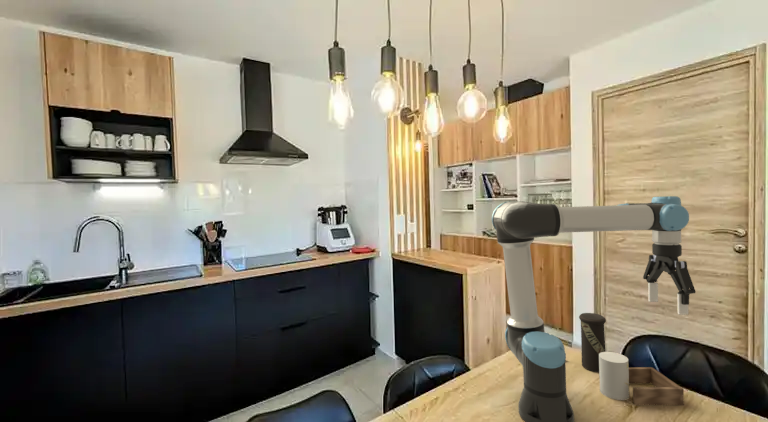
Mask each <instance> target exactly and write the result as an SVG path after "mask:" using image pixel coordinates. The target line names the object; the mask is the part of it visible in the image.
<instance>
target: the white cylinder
mask: <svg viewBox="0 0 768 422" xmlns="http://www.w3.org/2000/svg"><path fill="white" fill-rule="evenodd" d="M598 373H599V374H598V375H599V392H600V393H601V394H602V396H605V397H606V398H609V399H612V400H617V401H626V400H629V399H630V384H629V358H628V357H627V356H626V355H623V354H621V353H617V352H614V351H613V352H612V351H606V352H601V353H599V372H598Z"/></svg>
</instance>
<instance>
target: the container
mask: <svg viewBox="0 0 768 422" xmlns="http://www.w3.org/2000/svg"><path fill="white" fill-rule="evenodd" d="M578 318H579V321H580V338H581V339H580V341H581V345H580V346H581V366H582V367H583V368H584V369H585V370H587V371H591V372H593V373H594V372H596V373H599V353H601V352H607V350H606V335H605V332H606V331H605V323H606V321H607V319H606V317H605V316H604V315H602V314H598V313H594V312H583V313H580V314H579V316H578Z"/></svg>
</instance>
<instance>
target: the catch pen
mask: <svg viewBox="0 0 768 422" xmlns="http://www.w3.org/2000/svg"><path fill="white" fill-rule="evenodd" d="M630 384H651V385H653V386H648V387H647V386H645V387H643V386H640V387H639V386H636V387H635V386H633V387H632V393H633V394H632V397H633V398H632V401H633V404H634V405H635V406H684V405H685V400H684V399H685V397H684V396H685V395H684V391H685V389H684V388H683V387H682V386H680V385H679V384H677V383H676V382H674V381H673V380H671V379H670V378H668V377H667V376H665V375H664V374H663V373H662V372H660V371H658V370H657V369H655V368H654V367H651V366H648V367H647V366H645V367H644V366H641V367H638V366H637V367H629V385H630Z"/></svg>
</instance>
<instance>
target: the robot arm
mask: <svg viewBox="0 0 768 422" xmlns="http://www.w3.org/2000/svg"><path fill="white" fill-rule="evenodd" d="M689 221H690V213H689V211H688V210H687V209H686V208H685V207H684V206H682V201H681V198H680V197H679V196H676V195H674V196H673V195H672V196H669V195H668V196H666V195H665V196H653V197H652V198H651V202H644V203H643V202H641V203H639V202H637V203H635V202H634V203H629V202H627V203H619V204H617V205H591V206H590V205H587V206H582V205H581V206H560V207H559V206H558V205H557V204H555V203H537V202H531V201H530V202H529V201H521V200H520V201H519V200H517V201H516V200H508V201H504V202H502V203H500V204H499V205H497V206H496V207H495V209H494V210H493V212H492V215H491V223H492V226H493V228H494V229H495V231H496V238H497V239H496V240H497V244H498V245H500V246H501V247H502V251H503V259H504V260H503V262H504V268H505V277H506V286H507V295H508V304H509V305H508V306H509V311H510V316H509V317H508V318H507V319H506V329H505V333H504V336H505V338H504V339H505V342H506V344H507V345H506V346H507V347H508V349H509V350H510V351H511V353H512V354H513V355H514V357H515V358H516V359H517V361H518V362H519V363H520V364H521V366H522V371H523V372H522V373H523V374H522V375H523V389H522V391H521V394H520V397H519V401H518V413H519V416H520V418H521V419H522V420H523V421H525V422H575V414H574V411H573V410H574V409H573V408H572V405H571V402H570V399H569V396H568V394H567V369H566V366H567V365H566V361H565V360H566V358H567V357H566V356H567V354H566V351H565V345H564V343H563V341H562V340H561V339H560V338H559V337H557V336H556V335H554V334H550V333H548V332H546V331H545V323H544V320H543V319H542V318H541V317H540V316H539V314H538V305H537V296H536V288H535V278H534V268H533V261H532V253H531V244H532V243H534V241H535V238H545V237H556V236H559V234H560V233H591V232H593V233H594V232H617V231H618V232H619V231H620V232H623V231H624V232H625V231H626V232H627V231H651V241H652V242H653V243H652V246H651V247H652V248H651V249H652V250H651V251H652V254H649V256H648V262H647V265H646V267H645V271H644V273H643V275H642V279H643V280H646V283H647V290H648V291H647V292H648V295H647V297H648V300H647V301H648V302H650V303H657V302H659V284H658V280H659V278H660V276H661V275H662V274H663V273H664V272H665V273H667V275H669V276H670V277H671V279H672V281H673V283H674V285H675V287H676V288H677V290H678V292H677V293H676V296H677V299H676V301H677V302H676V303H677V304H676V306H677V307H676V308H677V310H676V311H677V312H676V313H677V315H684V316H685V315H689V305H690V294H691V295H692V294H696V289H695V286H694V283H693V281H692V278H691V275H690V273H689V269H688V262H687V261H685V260H684V261H683V260H682V261H681V260H679V257H681V256H682V255H683V251H682V250H683V249H682V245H681V243H682V230H683V229H684V228H685V227H686V226H687V225H688V223H689Z"/></svg>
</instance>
